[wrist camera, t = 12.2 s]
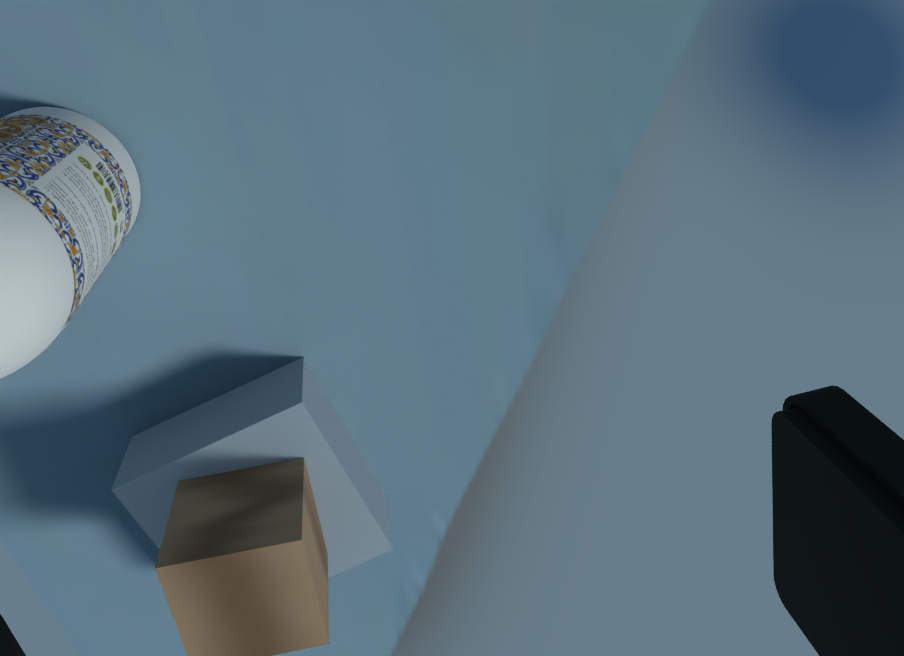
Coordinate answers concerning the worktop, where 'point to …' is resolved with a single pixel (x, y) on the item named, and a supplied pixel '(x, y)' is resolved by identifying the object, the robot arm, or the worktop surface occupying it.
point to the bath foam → (56, 222)
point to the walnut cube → (246, 562)
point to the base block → (263, 460)
